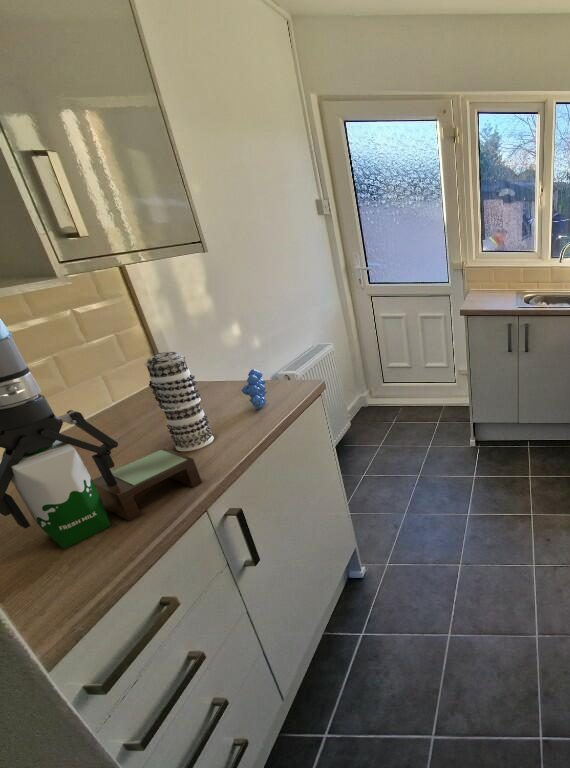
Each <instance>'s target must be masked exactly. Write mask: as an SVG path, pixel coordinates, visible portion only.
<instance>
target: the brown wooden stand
mask: <svg viewBox="0 0 570 768" xmlns="http://www.w3.org/2000/svg"><path fill="white" fill-rule="evenodd" d="M111 472H112V474H113V476H114V478H115V480H116V482H117V484H116V485H114V486H112V485H109V484H107V483H106V482H105V480H104V478H103V477H102V475H100V476H97V477H96V478H93V479H92V481H93V483H94V485H95V487H96V489H97V491H98V493H99V495H100V497H101V499H102V502H103V505H104V508H105V510H106V511H109V512H111V513H113V514H116V515H117V516H119V517H120V518H123V519H124V520H127V521H129V522H131V521H133V520H135V519H137V518H139V517H140V516H142V513H141V511H140V509H139V507H138V505H137V502H136V500H135V499H134V495H135V494H138V493H140V492H141V491H144V490H146V489H148V488H150V487H152V486H154V485H156V484H159V483H160V482H163V481H164V480H166V479H168V478H170V479H172V480H175V481H177V482H179V483H182V484H184V485H187V486H189V487H192V488H195V487H196V486H198V485H200V484H201V483H203V481H202V478H201V476H200V473H199V471H198V468H197V465H196V461H195V460H194V457H190V456H188V455H186V454H182V453H179V452H177V451H174V450H171V449H169V448H166V447H163V448H162V449H159V450H157V451H154V452H152V453H150V454H148V455H146V456H143V457H141V458H138V459H137V460H134V461H132V462H130V463H127V464H125V465H122V466H120V467H118V468H116V469H114V470H111Z"/></svg>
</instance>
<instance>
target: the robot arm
mask: <svg viewBox="0 0 570 768" xmlns="http://www.w3.org/2000/svg"><path fill="white" fill-rule="evenodd" d="M29 368H30V367H28V365H27V363H26V361H25V359H24V358H23V356H22V354H21V352H20V350H19V348H18V345H17V344H16V342H15V340H14V338H13V335H12V332H11V330H9V329H8V327H7V325H5V323H4V322H3V320H2V319H1V317H0V448H2V449H4V451H3V452H2V457H3V458H2V457H1V458H2V459H1V461H0V515H2V516H4V517H7V516H9V515H11V517H12V518H13V519H14V520H15V522H16V523H17V525H18V526H20V527H21V528H23V529H28V528H29V527H31V526H32V525H31V524H30V522H29V520H28V519H27V518H26V516H25V514H24V512H23V511H21V510H22V509H21V508H20V507H19V505H18V504H17V503H16V501H15V499H14V497H13V496H12V495H10V494H8V493H7V490H8V488H9V485H10V483H11V482H12V481H11V479H12V476H13V474H14V473H13V470H12V466H14V465H17V464H18V463H19V461H21V459H22V457H23V455H24V454H25V453H29V454H30V453H33V452H35V451H37V450H39V449H40V448H44V447H48V446H51V445H53V443H54V442H55V441H56V440H57V441H60V442H64V443H67V444H70V445H71V446H72V447H73V446H74V447H76V448H80V449H83V450H86V451H89V452H92V453H95V454H93V455H91V457H92V459H93V461H94V463H95V465H96V467H97V469H98V471H99V473H100V476H102V477H103V478H104V480H105V482H106V483H107V484H109V485H112V486H114V485H116V484H117V482H116V480H115V478H114V476H113V474H112V472H111V471H112V470H111V469H112V468H115V463H114V459H113V458H112V457H111V454H112V450H113V449H115V448H118V446H119V442H118V441H116V440H115V439H113V438H112V437H110V436H109V435H107V434H106V433H104V432H103V431H101V430H100V429H98V428H96V427H95V426H93V425H92V424H91V423H90V422H88V421H87V420H86V419H85V417H84V415H83V414H82V413H81V412H80V411H76V410H73V409H70V410H67V411H66V413H65V414H62V415H59V416H57V415H55V413H54V411H53V409H52V408H51V405H50V404H49V402H48V400H47V398H46V396H45V395H43V394H41V392H42V390H41V388H40V386H39V384H38V382H37V380H36V379H35V377H34V376H33V374H32V372H31V370H30V369H29ZM64 423H67V425H74V426H76V427H77V428H79V429H80V430H82V431H84V432H85V433H86V434H88V435H90V436H91V437H92V438H94V439H96V440H97V441H99V442H101V443H102V444H101V445H100V446H99V445H97V444H93V443H90V442H87V441H84V440H81V439H79V438H77V437H76V438H75V437H73V436H70V435H66V434H63V433H61V429H62V427H63V425H64Z"/></svg>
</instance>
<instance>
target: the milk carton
mask: <svg viewBox="0 0 570 768" xmlns="http://www.w3.org/2000/svg"><path fill="white" fill-rule="evenodd" d="M2 458H3V457H0V459H1V460H2ZM12 470H13V473H14V474H13V476H12V479H11V481H10V482H11V483H12V484H13V486H14V488H15V490H16V492H17V493H18V494H19V496H20V498H21V500H22V501H23V503H24V506H25V507H26V508H27V510H28V511H29V514H30V515H31V517H32V518H33V520H34V521H35V523H36V524H37V525H38V526H39V528H40V529H41V530H43V531H44V532H45V533H46V535H48V536H49V537H50V538H51V539H52V540H53V541H54V542H55V543H56V544H58V545H59V546H60V547H61V548H62V549H63V550H65V549H67V548H70V547H71V546H73V545H76V544H77V543H79V542H81V541H84V540H86V539H87V538H90V537H92V536H93V535H96V534H98V533H100V532H102V531H103V530H106V529H108V528H110V527H111V526H112V524H111V523H110V519H109V516H108V513H107V510H106V509H105V508H104V505H103V502H102V499H101V497H100V495H99V493H98V491H97V489H96V487H95V485H94V483H93V481H92V480H93V479H92V477H91V475H90V473H89V470H88V469H87V467H86V465H85V463H84V462H83V458H82V457H81V455H80V454H79V453H78V452H77V450H76V448H74V447H73V445H70V444H67V443H64V442H60V441H57V440H56V441H55V442H54V443H53V445H51V446H48V447H44V448H40V449H39V450H37V451H35V452H33V453H30V454H29V453H25V454H24V455H23V457H22V459H21V461H19V463H18V464H17V465H14V466H12Z"/></svg>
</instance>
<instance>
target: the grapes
mask: <svg viewBox="0 0 570 768" xmlns="http://www.w3.org/2000/svg"><path fill="white" fill-rule="evenodd" d="M247 376H248V377H247V379H246V383H248V384H245V385H244V386H243V387H242V389H241V392H242V393H243V394H244V395H245V396H249V397H250V399H249V402H250V403H251V404H252V406H253V407H254V408H255V409H256V410H262V409H263V407H264V406H265V404H266V403H267V402H268V401H267V400H268V399H266V398H265V396H266V394H267V393H268V390H266V388H267V387H266V386H264V385H265V384H266V381H265V380H264V379H263V378H262V377H263V373H262V372H261V371H260V370H257V369H255V368H252V369H250V371H249V372H248V375H247Z"/></svg>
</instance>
